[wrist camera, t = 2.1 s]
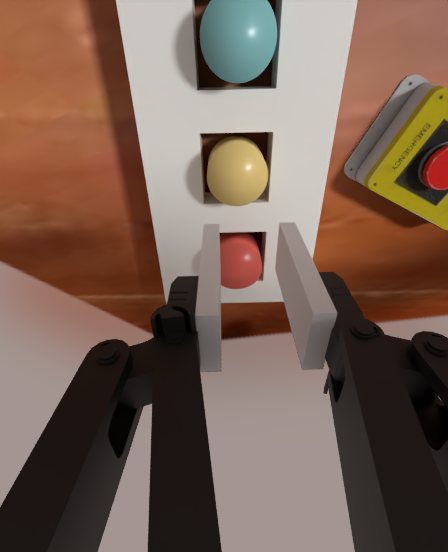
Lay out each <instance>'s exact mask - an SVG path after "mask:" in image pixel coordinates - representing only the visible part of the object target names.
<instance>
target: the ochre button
mask: <svg viewBox="0 0 448 552" xmlns="http://www.w3.org/2000/svg"><path fill="white" fill-rule="evenodd" d="M267 181H268V168H267V165H266V162H265V160H264V158H263V156H262V153H261V151H260V149H259V148H258V146H257V145H256V144H255V143H254V142H253V141H252V140H250V139H248V138H246V137H243V136H230V137H227V138H224V139H222V140H221V141H219V142H218V143H217V144H216V145H215V146H214V148H213V149H212V151H211V153H210V156H209V160H208V169H207V183H208V186H209V189H210V191H211V193H212V194H213V195H214V197H215V198H216V199H218V200H219V201H220V202H222V203H224V204H226V205H229V206H244V205H247V204H250V203H252V202H253V201H255V200H256V199H257V198H258V197H259V196H260V195H261V194H262V193H263V191H264V189H265V187H266V185H267Z"/></svg>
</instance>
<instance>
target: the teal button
mask: <svg viewBox="0 0 448 552" xmlns="http://www.w3.org/2000/svg"><path fill="white" fill-rule="evenodd" d="M276 42H277V23H276V18H275V15H274V12H273V10H272V7H271V5H270V4H269V2H268V1H267V0H211V1H210V3H209V4H208V6H207V7H206V10H205V12H204V14H203V17H202V21H201V26H200V45H201V50H202V53H203V56H204V59H205V61H206V63H207V65H208V66H209V68H210V69H211V70H212V71H213V72H214V73H215V74H216V75H217V76H218V77H219V78H221V79H223V80H225V81H227V82H231V83H244V82H248V81H250V80H252V79H254V78H256V77H257V76H258V75H260V74H261V73H262V72H263V71H264V70H265V68H266V67H267V66H268V64H269V62H270V61H271V59H272V56H273V54H274V51H275V47H276Z"/></svg>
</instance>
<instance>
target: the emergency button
mask: <svg viewBox="0 0 448 552" xmlns="http://www.w3.org/2000/svg"><path fill="white" fill-rule="evenodd" d="M344 173H345V175H347V176H348V177H349V178H350V179H352V180H354V181H356V182H358V183H360V184H361V185H363V186H365V187H367V188H368V189H370V190H372V191H374V192H375V193H377V194H379V195H381V196H383V197H385V198H387V199H388V200H390V201H392V202H394V203H396V204H398V205H400V206H401V207H403V208H405V209H407V210H409V211H411V212H413V213H414V214H416V215H418V216H420V217H422V218H424V219H426V220H427V221H429V222H431V223H433V224H435V225H437V226H439V227H440V228H442V229H444V230H448V89H447V88H445V87H442V86H437V85H433V84H432V83H430V82H429V81H427V80H426V79H424V78H423V77H422V76H419V75H416V74H413V75H409V76H407V77H406V78H405V79H404V80H402V81H401V83H400V84H399V86H398V87H397V89H396V90H395V92H394V93H393V95H392V96H391V98H390V99H389V101H388V102H387V103H386V105H385V106H384V108H383V109H382V111H381V112H380V114H379V115H378V117H377V118H376V120H375V121H374V122H373V124H372V125H371V127H370V128H369V130H368V131H367V133H366V134H365V136H364V137H363V139H362V140H361V141H360V143H359V144H358V146H357V147H356V149H355V150H354V152H353V153H352V155H351V156H350V158H349V159H348V161H347V162H346V163H345V166H344Z"/></svg>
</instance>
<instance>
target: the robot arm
mask: <svg viewBox="0 0 448 552" xmlns="http://www.w3.org/2000/svg"><path fill="white" fill-rule="evenodd" d="M275 271H276V275H277V278H278V282H279V286H280V289H281V293H282V297H283V301H284V304H285V308H286V312H287V316H288V319H289V323H290V327H291V330H292V334H293V338H294V341H295V345H296V349H297V353H298V356H299V360H300V364H301V368H302V369H303V370H305V369H323V367H324V363H325V359H326V361H327V364H328V367H329V372H328V376H327V379H326V383H325V386H324V393H325V394H327V391H328V388H329V393H330V400H331V406H332V413H333V419H334V425H335V431H336V437H337V443H338V450H339V455H340V462H341V468H342V475H343V481H344V487H345V493H346V499H347V505H348V511H349V518H350V524H351V530H352V536H353V543H354V549H355V552H448V338H447V337H445V336H443V335H440V334H438V333H434V332H427V331H426V332H425V331H422V332H419V333H416V334H415V335H414V336H413V338H412V340H411V341H410V340H406V339H401V338H396V337H391V336H388V335H385V334H384V332H383V331H382V329H381V328H380V327H379V326H378V325H376V324H375V323H373V322H371V321H369V320H367V319H365V318H364V316H363V314H362V312H361V311H360V309H359V307H358V305H357V304H356V302H355V300H354V298H353V297H352V296H351V293H350V291H349V289H347V286H346V284H345V282H344V281H343V279H342V278H341V277H339V276H338V275H337V274H335V273H334V272H318V270H317V268H316V266H315V264H314V262H313V260H312V258H311V256H310V253H309V251H308V249H307V247H306V245H305V243H304V241H303V238H302V236H301V234H300V232H299V230H298V228H297V226H296V224H295V222H286V223H279V232H278V243H277V254H276V264H275ZM150 321H151V325H152V330H153V335H154V338H152V339H150V340H148V341H146V342H143V343H141V344H137V345H133V346H128V344H127V343H125V342H124V341H122V340H117V339H112V340H106V341H103V342H101V343H99V344H97V345H96V346H94V347H93V348H92V349H91V350H90V351H89V352H88V354H87V355H86V357H85V358H84V360H83V362H82V364H81V365H80V367H79V369H78V371H77V372H76V374H75V376H74V378H73V380H72V381H71V383H70V385H69V387H68V388H67V390H66V392H65V394H64V395H63V397H62V399H61V401H60V402H59V404H58V406H57V408H56V410H55V412H54V413H53V415H52V417H51V418H50V420H49V422H48V424H47V426H46V427H45V429H44V431H43V433H42V434H41V436H40V438H39V440H38V441H37V443H36V445H35V447H34V449H33V450H32V452H31V454H30V456H29V457H28V459H27V461H26V463H25V464H24V466H23V468H22V470H21V471H20V474H19V475H18V477H17V479H16V480H15V482H14V484H13V486H12V488H11V489H10V491H9V493H8V494H7V496H6V498H5V500H4V501H3V503H2V505H1V507H0V552H98V548H99V545H100V542H101V539H102V536H103V533H104V530H105V526H106V523H107V520H108V517H109V514H110V510H111V507H112V504H113V501H114V498H115V495H116V492H117V489H118V485H119V482H120V479H121V476H122V473H123V469H124V466H125V463H126V460H127V457H128V454H129V451H130V447H131V444H132V441H133V438H134V435H135V432H136V429H137V425H138V422H139V419H140V416H141V413H142V410H143V406H145V405H149V404H152V432H151V465H150V467H151V468H150V496H149V529H148V530H149V531H148V532H149V533H148V552H222V551H221V543H220V534H219V526H218V518H217V509H216V501H215V493H214V484H213V476H212V468H211V460H210V451H209V443H208V434H207V426H206V418H205V409H204V401H203V393H202V384H201V376H200V371H201V372H212V371H213V372H215V371H216V372H217V371H221V265H220V231H219V224H204V227H203V238H202V248H201V259H200V269H199V276H178V277H177V278H176V279H175V280H174V281H173V282H172V283H171V287H170V291H169V296H168V301H167V305H164V306H162V307H160V308H158V309H157V310H156V311H155V312H154V313H153V314H152V316H151V319H150ZM438 396H439V398H440V399H441V400H440V399H439V398H438Z"/></svg>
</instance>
